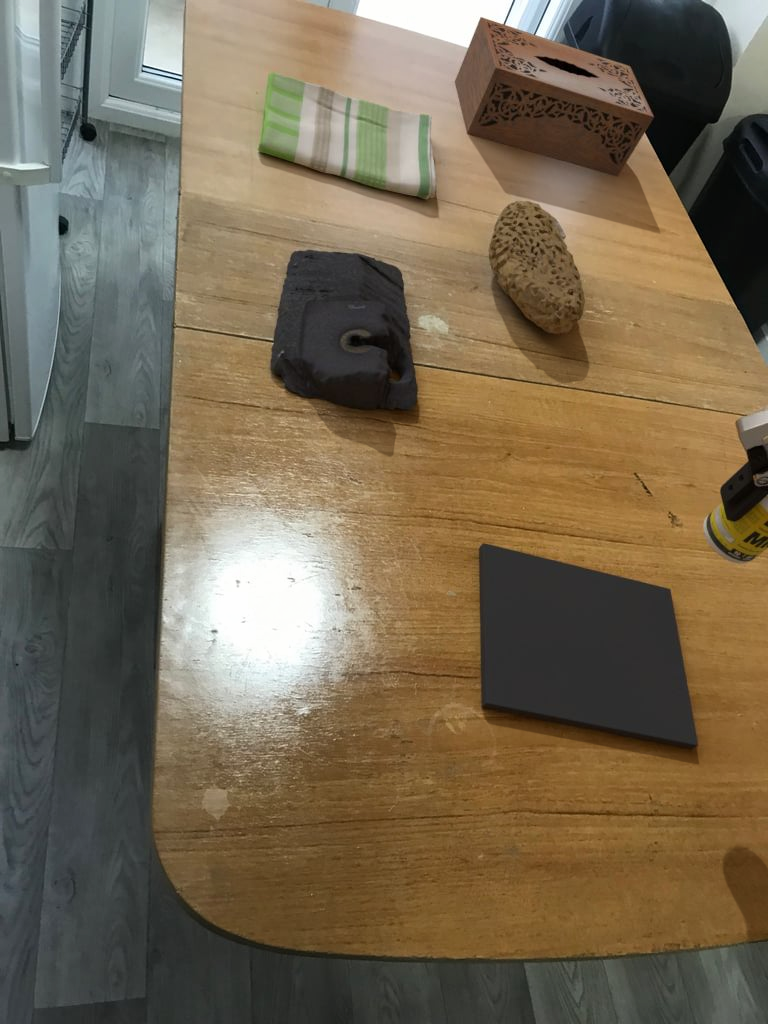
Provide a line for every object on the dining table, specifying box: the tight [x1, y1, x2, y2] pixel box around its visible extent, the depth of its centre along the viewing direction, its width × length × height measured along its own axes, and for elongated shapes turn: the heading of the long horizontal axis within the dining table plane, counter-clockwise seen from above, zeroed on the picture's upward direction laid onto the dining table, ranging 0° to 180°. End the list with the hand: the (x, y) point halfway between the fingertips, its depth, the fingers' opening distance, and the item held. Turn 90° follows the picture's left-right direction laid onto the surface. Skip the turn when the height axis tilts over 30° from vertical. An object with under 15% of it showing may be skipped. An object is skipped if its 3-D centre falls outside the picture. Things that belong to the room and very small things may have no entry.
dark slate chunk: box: [269, 249, 419, 411], centre depth 88 cm, size 15×22×5 cm
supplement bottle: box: [702, 495, 768, 564], centre depth 62 cm, size 5×5×8 cm
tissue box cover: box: [454, 16, 655, 177], centre depth 127 cm, size 26×14×10 cm, turn 95°
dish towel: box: [257, 71, 437, 200], centre depth 110 cm, size 17×23×4 cm
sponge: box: [488, 200, 586, 335], centre depth 103 cm, size 13×8×20 cm
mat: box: [478, 542, 699, 750], centre depth 76 cm, size 20×16×1 cm
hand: (760, 513), depth 63 cm, fingers closed on supplement bottle, 4 cm apart
